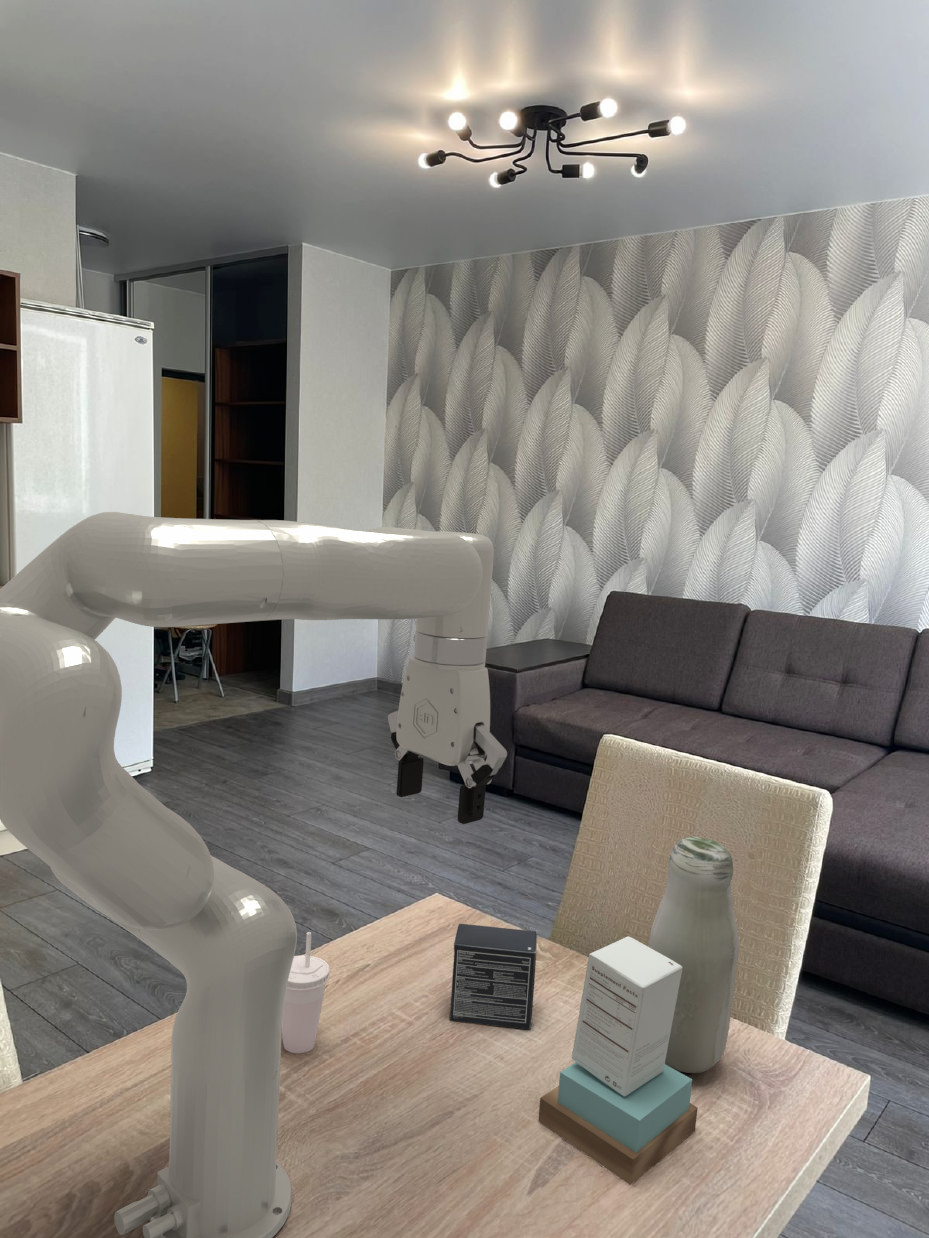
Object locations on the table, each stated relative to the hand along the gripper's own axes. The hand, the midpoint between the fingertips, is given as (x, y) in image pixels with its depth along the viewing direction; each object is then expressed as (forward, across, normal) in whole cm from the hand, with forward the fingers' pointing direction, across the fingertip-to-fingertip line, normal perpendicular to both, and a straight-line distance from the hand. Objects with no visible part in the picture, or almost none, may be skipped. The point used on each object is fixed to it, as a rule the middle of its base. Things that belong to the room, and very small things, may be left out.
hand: (438, 807), depth 99 cm
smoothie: (+33, -15, -6) cm, 37 cm away
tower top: (+30, +19, +13) cm, 38 cm away
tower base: (+34, +18, +13) cm, 40 cm away
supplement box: (+26, +17, +13) cm, 34 cm away
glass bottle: (+33, +16, +28) cm, 46 cm away
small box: (+33, -6, +18) cm, 38 cm away
